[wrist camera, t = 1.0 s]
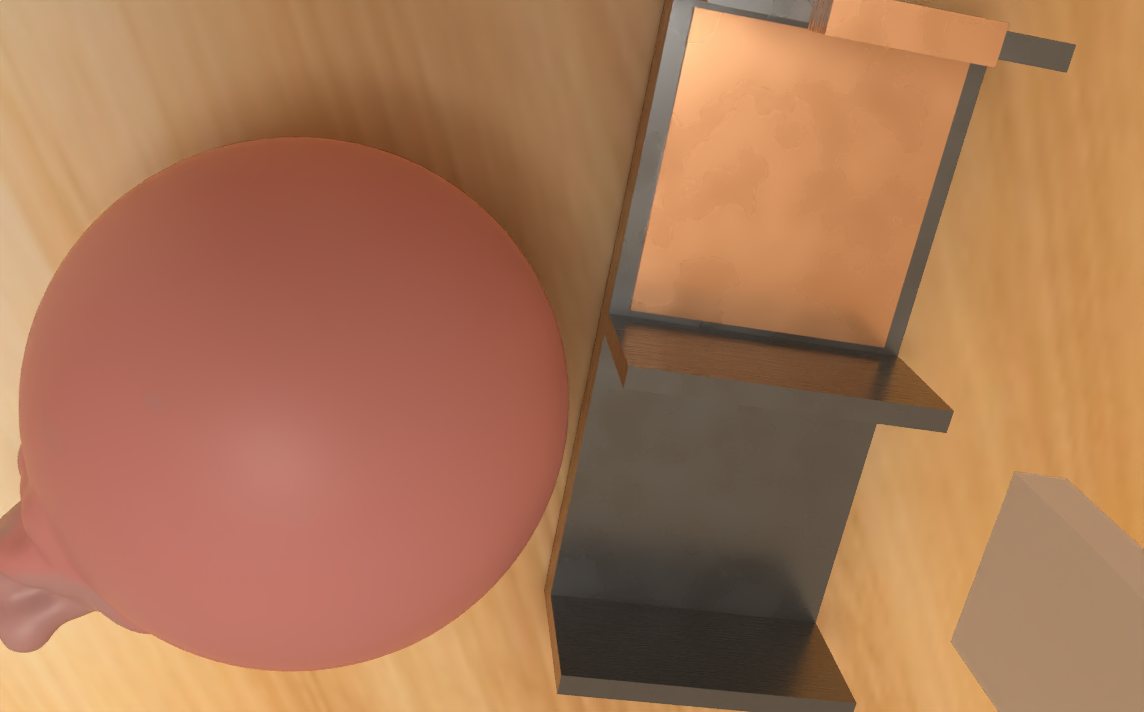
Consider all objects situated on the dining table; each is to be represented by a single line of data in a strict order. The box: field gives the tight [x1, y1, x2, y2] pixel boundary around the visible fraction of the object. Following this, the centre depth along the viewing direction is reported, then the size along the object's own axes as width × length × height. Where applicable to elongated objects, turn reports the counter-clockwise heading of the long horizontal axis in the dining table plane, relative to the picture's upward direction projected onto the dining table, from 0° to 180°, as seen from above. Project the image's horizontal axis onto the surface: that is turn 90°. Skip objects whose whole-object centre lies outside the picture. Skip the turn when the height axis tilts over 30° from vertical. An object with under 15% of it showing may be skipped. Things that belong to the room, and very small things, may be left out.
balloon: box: [0, 137, 569, 671], centre depth 32 cm, size 15×20×15 cm
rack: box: [544, 0, 1076, 712], centre depth 37 cm, size 25×11×8 cm, turn 170°
